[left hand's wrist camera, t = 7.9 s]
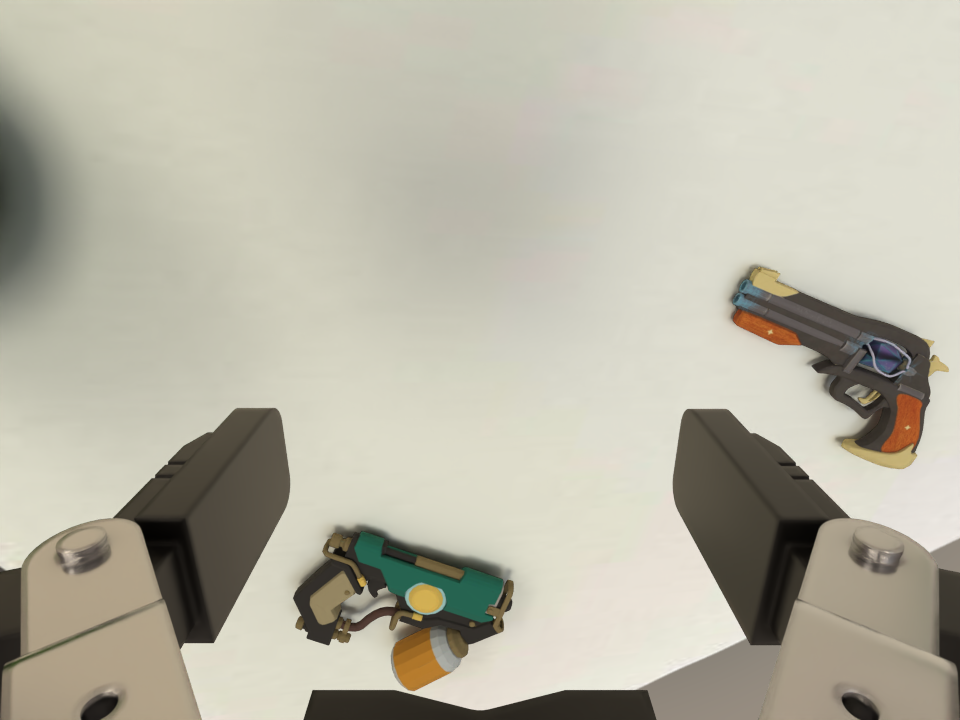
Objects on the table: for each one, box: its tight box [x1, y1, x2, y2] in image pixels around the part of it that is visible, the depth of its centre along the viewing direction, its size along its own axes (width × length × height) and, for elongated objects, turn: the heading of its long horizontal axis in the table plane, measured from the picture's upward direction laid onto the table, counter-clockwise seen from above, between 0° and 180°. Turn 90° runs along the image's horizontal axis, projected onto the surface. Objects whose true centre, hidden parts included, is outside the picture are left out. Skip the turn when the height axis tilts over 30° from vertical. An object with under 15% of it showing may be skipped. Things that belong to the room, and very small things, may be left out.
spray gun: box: [293, 531, 514, 691], centre depth 48 cm, size 4×17×15 cm
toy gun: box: [733, 267, 949, 469], centre depth 41 cm, size 3×19×10 cm
